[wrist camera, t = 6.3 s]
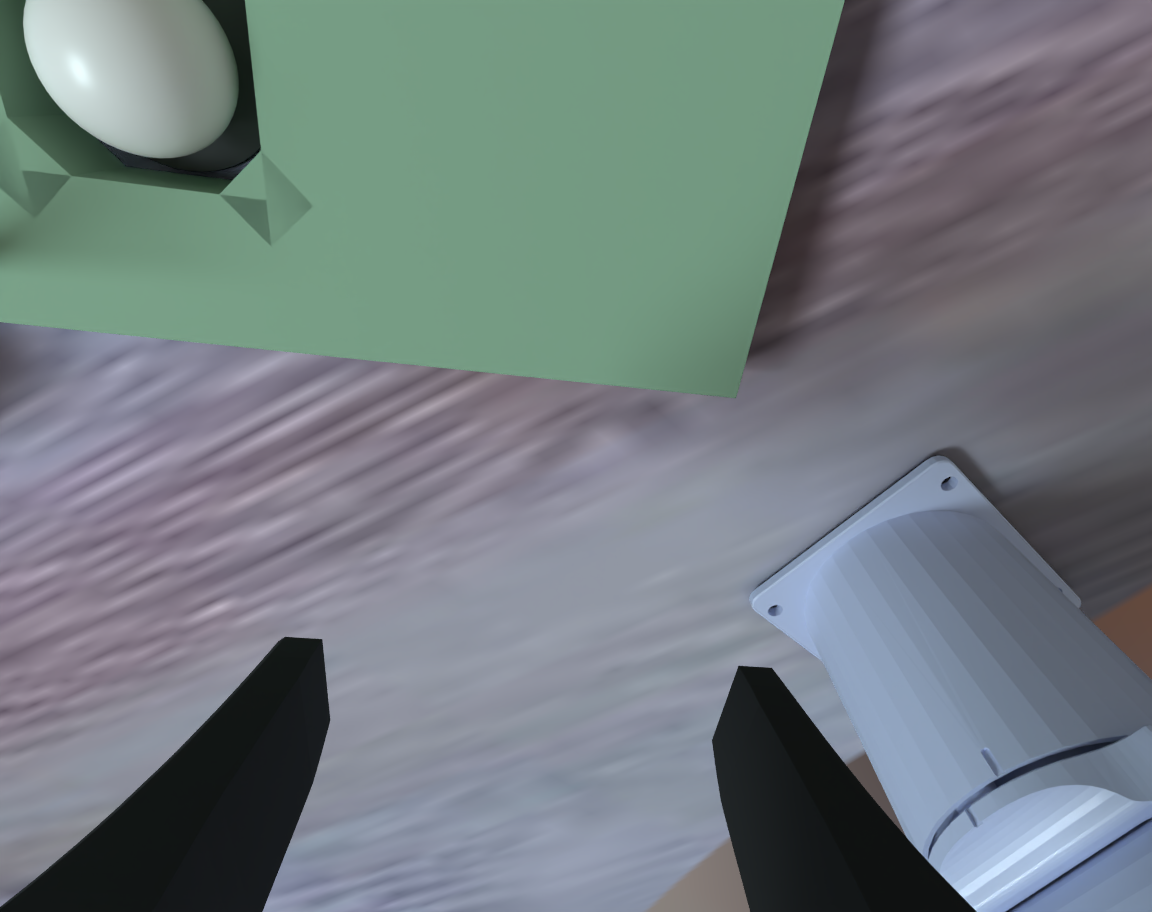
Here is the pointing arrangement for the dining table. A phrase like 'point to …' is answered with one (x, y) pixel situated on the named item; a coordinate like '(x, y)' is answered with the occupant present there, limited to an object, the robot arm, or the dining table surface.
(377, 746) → the dining table surface
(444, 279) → the putting mat
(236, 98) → the golf ball
